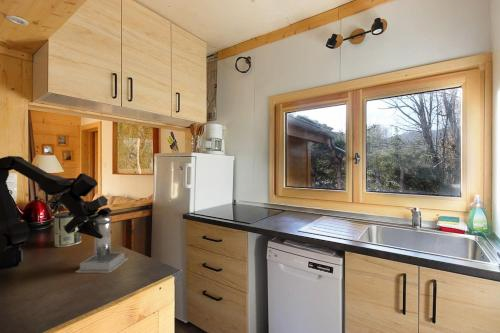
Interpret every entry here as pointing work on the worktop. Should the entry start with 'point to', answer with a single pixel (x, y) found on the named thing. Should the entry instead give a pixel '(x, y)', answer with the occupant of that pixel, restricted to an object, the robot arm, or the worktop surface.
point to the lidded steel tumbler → (105, 229)
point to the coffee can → (61, 235)
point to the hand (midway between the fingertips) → (106, 235)
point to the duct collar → (101, 263)
